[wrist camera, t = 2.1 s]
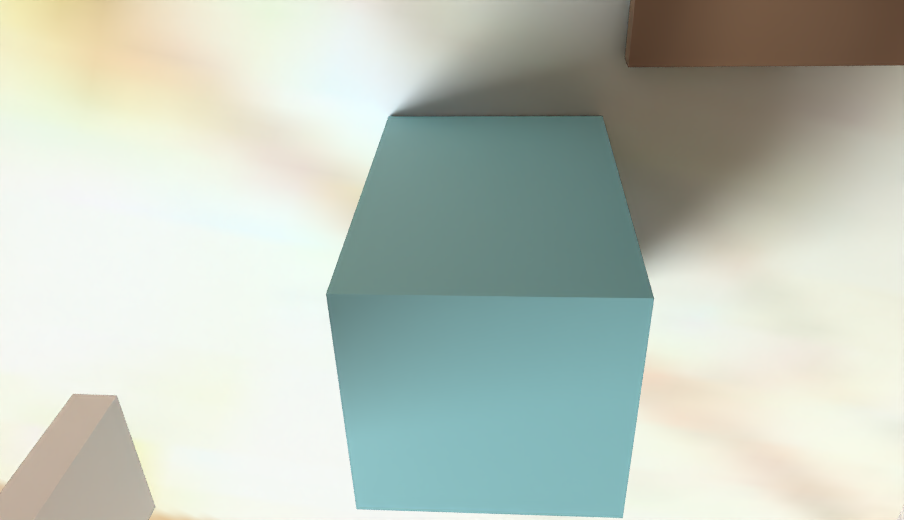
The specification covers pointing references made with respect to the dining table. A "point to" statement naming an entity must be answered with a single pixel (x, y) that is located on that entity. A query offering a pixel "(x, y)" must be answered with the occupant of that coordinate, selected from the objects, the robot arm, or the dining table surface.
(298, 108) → the dining table surface
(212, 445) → the dining table surface
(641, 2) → the stand
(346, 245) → the teal rectangular prism
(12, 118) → the dining table surface
